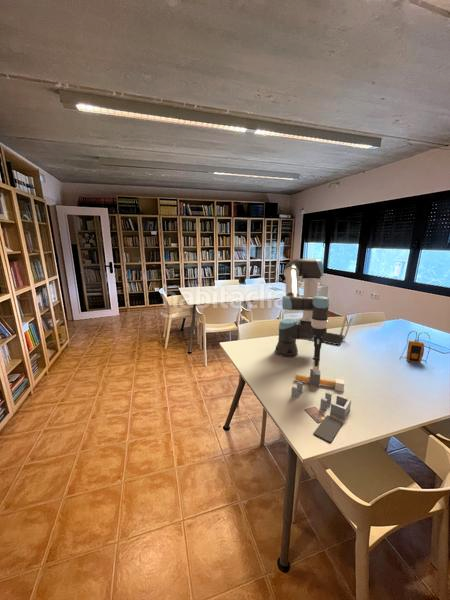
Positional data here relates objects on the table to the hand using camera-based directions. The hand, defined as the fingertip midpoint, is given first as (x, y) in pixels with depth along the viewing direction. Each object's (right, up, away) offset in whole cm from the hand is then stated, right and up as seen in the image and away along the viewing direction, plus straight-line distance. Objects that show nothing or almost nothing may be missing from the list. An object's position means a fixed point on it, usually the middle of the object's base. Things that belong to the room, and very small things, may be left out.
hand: (315, 365), depth 129 cm
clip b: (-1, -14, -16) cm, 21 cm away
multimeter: (+74, -4, +31) cm, 80 cm away
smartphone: (-6, -18, -30) cm, 35 cm away
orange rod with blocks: (+2, -11, +2) cm, 11 cm away
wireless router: (+34, +4, +68) cm, 76 cm away
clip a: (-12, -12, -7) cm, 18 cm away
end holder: (+4, -15, -20) cm, 25 cm away
